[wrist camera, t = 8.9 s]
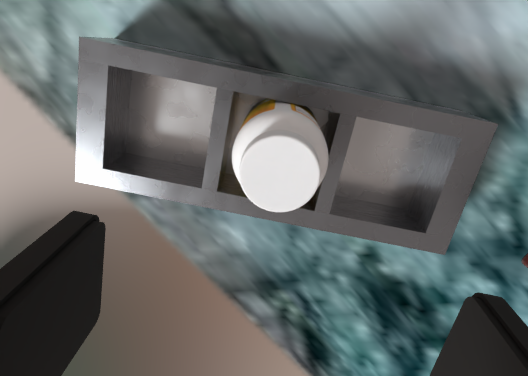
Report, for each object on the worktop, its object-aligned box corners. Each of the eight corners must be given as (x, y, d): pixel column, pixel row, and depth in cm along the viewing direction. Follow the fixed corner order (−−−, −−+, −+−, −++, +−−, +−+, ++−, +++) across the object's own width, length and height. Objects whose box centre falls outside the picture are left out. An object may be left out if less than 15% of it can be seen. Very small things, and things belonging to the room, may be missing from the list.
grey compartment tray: (114, 38, 27) (79, 36, 22) (461, 110, 28) (498, 124, 23) (107, 160, 30) (75, 181, 26) (420, 222, 31) (444, 254, 26)
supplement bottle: (241, 166, 29) (222, 222, 20) (244, 92, 27) (225, 116, 18) (314, 171, 29) (328, 230, 20) (322, 97, 27) (342, 124, 18)
